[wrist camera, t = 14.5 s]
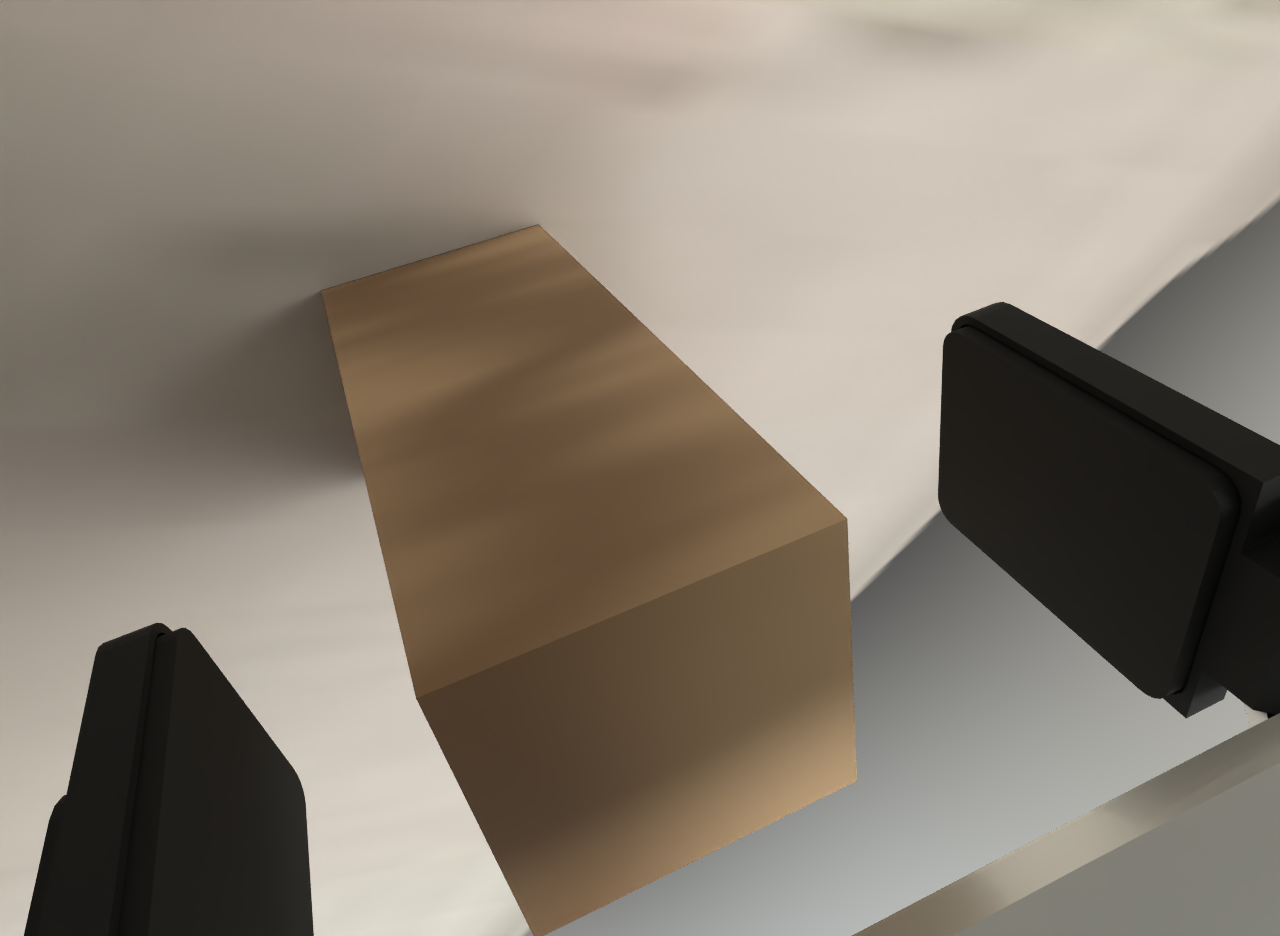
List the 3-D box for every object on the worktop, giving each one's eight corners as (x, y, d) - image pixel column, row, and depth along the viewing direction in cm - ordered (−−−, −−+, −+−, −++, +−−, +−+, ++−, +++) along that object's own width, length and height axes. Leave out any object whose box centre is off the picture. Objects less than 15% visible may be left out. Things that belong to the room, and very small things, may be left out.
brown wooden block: (538, 224, 16) (846, 519, 8) (584, 408, 18) (857, 780, 10) (320, 290, 15) (415, 698, 7) (398, 475, 17) (536, 940, 9)
